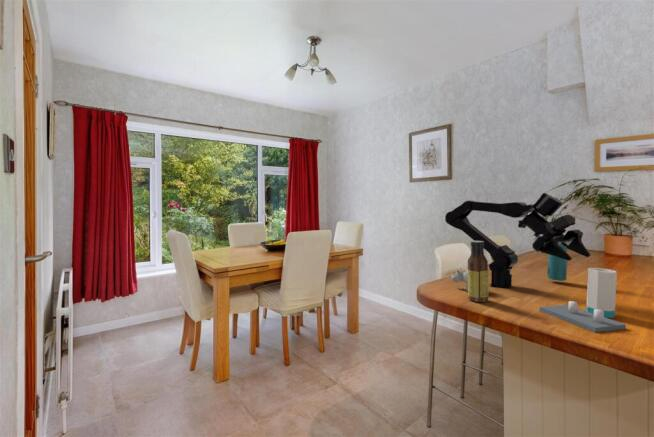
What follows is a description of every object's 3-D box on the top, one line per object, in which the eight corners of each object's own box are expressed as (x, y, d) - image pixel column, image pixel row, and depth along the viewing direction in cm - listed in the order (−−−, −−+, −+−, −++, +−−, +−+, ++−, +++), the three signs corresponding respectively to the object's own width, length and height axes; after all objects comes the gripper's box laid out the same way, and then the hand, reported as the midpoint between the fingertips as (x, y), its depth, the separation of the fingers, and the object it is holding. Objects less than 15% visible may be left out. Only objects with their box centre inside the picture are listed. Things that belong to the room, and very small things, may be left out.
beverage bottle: (570, 284, 125) (572, 234, 124) (553, 284, 125) (555, 234, 124) (558, 280, 132) (560, 232, 130) (542, 280, 132) (544, 232, 131)
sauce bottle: (486, 298, 107) (488, 240, 106) (489, 304, 101) (491, 242, 100) (465, 296, 109) (467, 239, 108) (467, 302, 104) (469, 241, 102)
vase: (588, 315, 91) (590, 270, 91) (585, 309, 96) (587, 267, 96) (616, 319, 88) (618, 273, 87) (611, 313, 93) (613, 269, 92)
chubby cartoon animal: (454, 285, 125) (455, 263, 124) (487, 290, 117) (488, 267, 116) (447, 288, 120) (448, 266, 119) (481, 294, 112) (482, 271, 111)
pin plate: (539, 310, 95) (540, 297, 95) (566, 308, 97) (567, 295, 97) (594, 332, 79) (595, 316, 79) (625, 329, 82) (626, 313, 81)
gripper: (535, 210, 104) (577, 242, 93) (572, 206, 110) (616, 236, 99) (517, 235, 110) (554, 268, 99) (553, 230, 117) (592, 261, 106)
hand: (580, 257), depth 101 cm, fingers open, 9 cm apart
